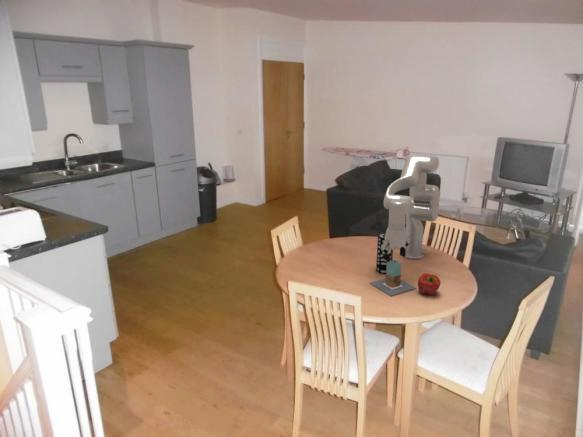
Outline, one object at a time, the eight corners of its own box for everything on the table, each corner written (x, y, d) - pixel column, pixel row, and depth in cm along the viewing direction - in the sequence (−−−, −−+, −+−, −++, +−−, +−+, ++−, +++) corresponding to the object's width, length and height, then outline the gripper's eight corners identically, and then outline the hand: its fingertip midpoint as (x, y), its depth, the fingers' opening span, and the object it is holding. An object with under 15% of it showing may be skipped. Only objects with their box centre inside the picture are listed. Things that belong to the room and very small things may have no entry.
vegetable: (444, 297, 199) (446, 277, 196) (424, 299, 197) (426, 280, 194) (432, 287, 209) (434, 268, 206) (413, 289, 207) (414, 270, 204)
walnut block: (393, 281, 213) (394, 270, 212) (400, 285, 209) (401, 274, 208) (385, 284, 211) (386, 272, 209) (392, 287, 207) (393, 276, 205)
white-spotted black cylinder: (382, 275, 222) (384, 239, 216) (372, 269, 229) (374, 235, 223) (395, 272, 226) (397, 237, 220) (385, 266, 233) (387, 232, 227)
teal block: (393, 270, 212) (394, 259, 210) (400, 274, 207) (401, 263, 206) (386, 273, 209) (386, 261, 208) (393, 276, 205) (393, 265, 203)
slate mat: (394, 276, 221) (394, 275, 221) (416, 288, 207) (416, 287, 207) (369, 283, 214) (369, 282, 213) (391, 296, 200) (391, 295, 200)
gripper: (404, 219, 208) (403, 251, 214) (377, 226, 201) (375, 259, 206) (416, 224, 202) (413, 257, 208) (387, 231, 194) (386, 265, 200)
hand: (394, 258), depth 207 cm, fingers open, 9 cm apart
